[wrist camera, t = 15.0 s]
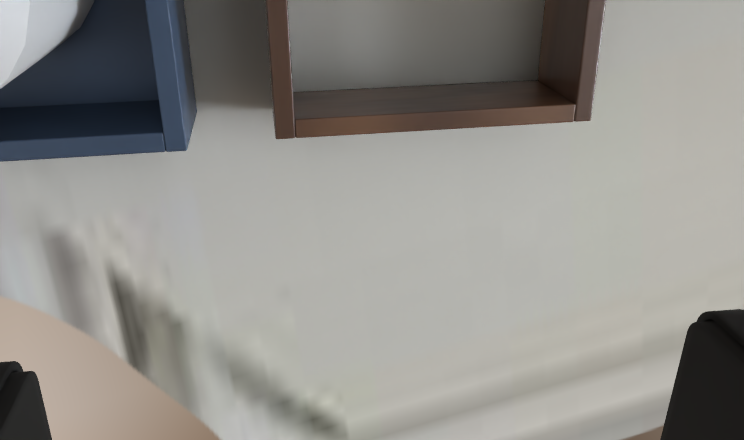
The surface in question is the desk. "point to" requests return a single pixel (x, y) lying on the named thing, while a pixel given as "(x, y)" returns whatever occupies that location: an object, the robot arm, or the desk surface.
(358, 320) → the desk surface
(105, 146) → the bin
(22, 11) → the can
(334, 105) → the crate
